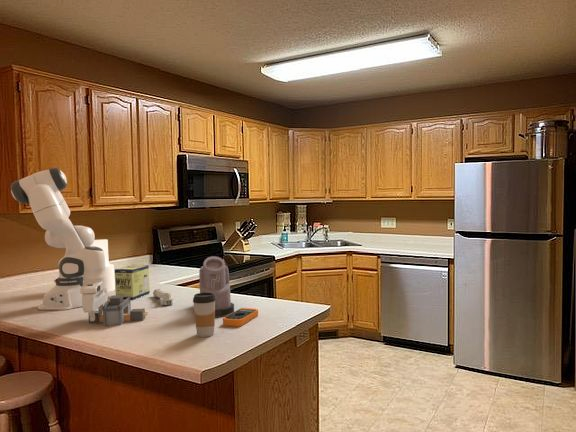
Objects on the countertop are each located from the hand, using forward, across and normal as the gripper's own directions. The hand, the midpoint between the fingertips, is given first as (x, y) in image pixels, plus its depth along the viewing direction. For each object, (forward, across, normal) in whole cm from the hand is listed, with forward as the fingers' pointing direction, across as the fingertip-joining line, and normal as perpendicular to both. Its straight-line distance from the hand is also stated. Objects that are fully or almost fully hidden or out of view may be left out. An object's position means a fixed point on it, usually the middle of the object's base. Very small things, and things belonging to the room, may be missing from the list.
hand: (96, 317), depth 190 cm
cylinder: (+2, -65, -21) cm, 68 cm away
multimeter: (+2, +10, +61) cm, 61 cm away
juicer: (+2, -11, +48) cm, 50 cm away
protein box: (+2, -46, +3) cm, 46 cm away
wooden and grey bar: (+2, 0, +8) cm, 9 cm away
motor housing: (+2, 0, +8) cm, 9 cm away
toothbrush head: (+2, -33, +21) cm, 39 cm away
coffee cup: (+2, +26, +48) cm, 55 cm away
